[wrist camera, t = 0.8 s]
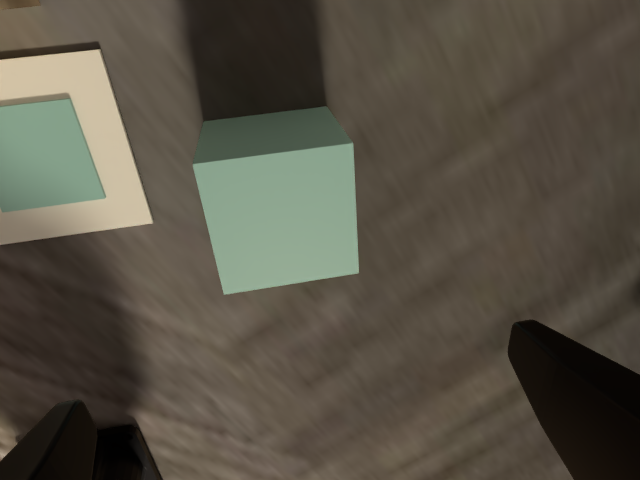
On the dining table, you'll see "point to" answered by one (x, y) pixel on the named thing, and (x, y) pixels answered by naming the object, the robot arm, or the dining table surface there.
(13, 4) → the maple block
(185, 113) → the dining table surface
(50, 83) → the card
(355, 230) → the teal block
